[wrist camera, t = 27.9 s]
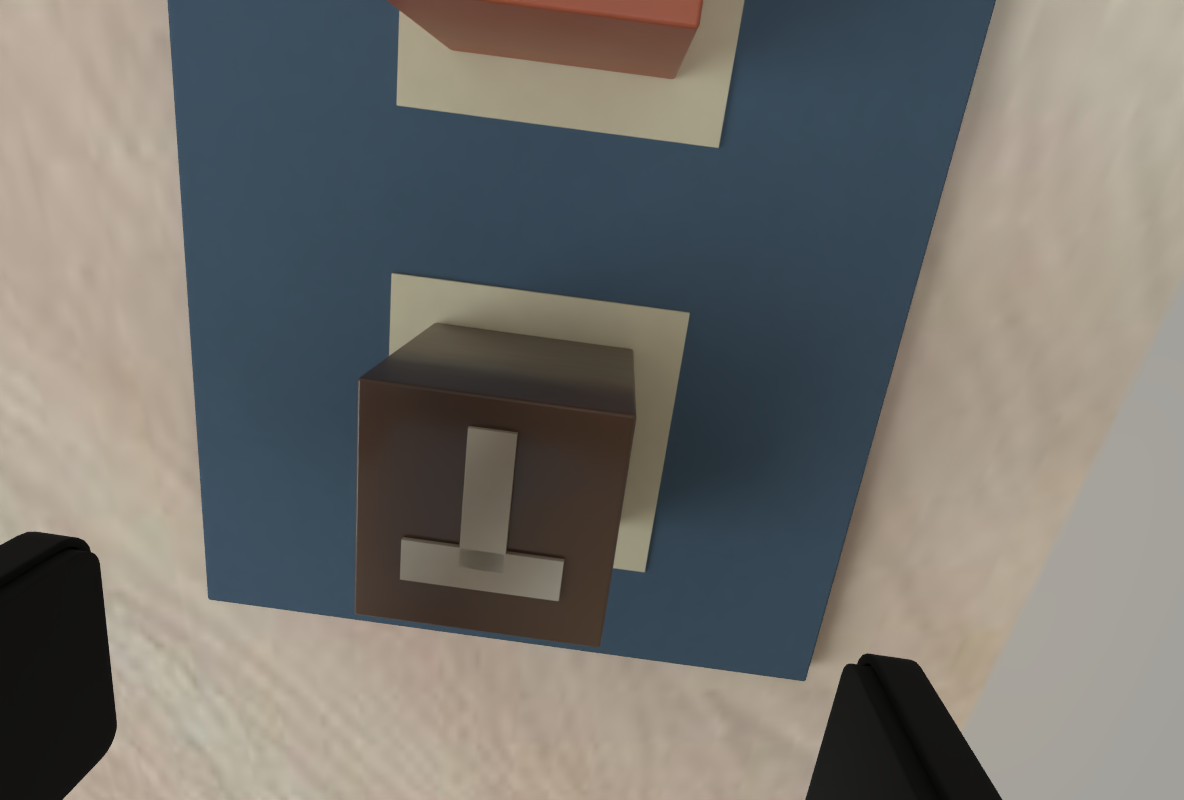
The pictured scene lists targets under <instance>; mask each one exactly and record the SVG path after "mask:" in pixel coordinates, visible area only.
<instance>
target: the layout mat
mask: <svg viewBox="0 0 1184 800" xmlns="http://www.w3.org/2000/svg"><path fill="white" fill-rule="evenodd" d="M995 1H996V0H703V6H702V13H701V19H700V25H699V27H698V29H697V31H696V34H695V36H694V38H693V40H692V42H691V44H690V47H689V49H688V51H687V53H686V55H685V57H684V60H683V62H682V64H681V66H680V68H679V70H678V72H677V75H676V77H675V79H666V78H659V77H651V76H643V75H636V74H628V73H621V72H613V71H605V70H598V69H590V68H583V67H575V66H567V65H560V64H552V63H545V62H537V61H529V60H522V59H514V58H507V57H499V56H491V55H484V54H476V53H469V52H461V51H453V50H450V49H449V48H448V47H446V46H445V45H444V44H442V43H441V42H440V41H438V40H437V39H436V38H435V37H433V36H432V35H431V34H429V33H428V32H427V31H426V30H424V29H423V28H422V27H420V26H419V25H418V24H416V23H415V22H414V21H413V20H411V19H410V18H409V17H407V16H406V15H405V14H404V13H402V12H401V11H400V10H398V9H397V8H396V7H394V6H393V5H392V4H391V3H389V2H388V1H387V0H168V12H169V27H170V42H171V56H172V71H173V86H174V101H175V115H176V130H177V145H178V159H179V174H180V189H181V204H182V218H183V233H184V248H185V263H186V277H187V292H188V307H189V322H190V336H191V351H192V366H193V381H194V395H195V410H196V425H197V439H198V454H199V469H200V484H201V498H202V513H203V528H204V543H205V557H206V572H207V587H208V598H209V599H210V600H217V601H225V602H232V603H239V604H247V605H254V606H261V607H268V608H276V609H283V610H290V611H297V612H305V613H312V614H319V615H327V616H334V617H341V618H348V619H356V620H363V621H370V622H377V623H385V624H392V625H399V626H407V627H414V628H421V629H428V630H436V631H443V632H450V633H457V634H465V635H472V636H479V637H487V638H494V639H501V640H508V641H516V642H523V643H530V644H538V645H545V646H552V647H559V648H567V649H574V650H581V651H588V652H596V653H603V654H610V655H618V656H625V657H632V658H639V659H647V660H654V661H661V662H668V663H676V664H683V665H690V666H698V667H705V668H712V669H719V670H727V671H734V672H741V673H748V674H756V675H763V676H770V677H778V678H785V679H792V680H799V681H805V680H806V677H807V673H808V670H809V666H810V662H811V659H812V655H813V652H814V648H815V645H816V641H817V637H818V634H819V630H820V627H821V623H822V620H823V616H824V612H825V609H826V605H827V602H828V598H829V595H830V591H831V587H832V584H833V580H834V577H835V573H836V570H837V566H838V562H839V559H840V555H841V552H842V548H843V545H844V541H845V537H846V534H847V530H848V527H849V523H850V520H851V516H852V512H853V509H854V505H855V502H856V498H857V495H858V491H859V487H860V484H861V480H862V477H863V473H864V470H865V466H866V462H867V459H868V455H869V452H870V448H871V444H872V441H873V437H874V434H875V430H876V427H877V423H878V419H879V416H880V412H881V409H882V405H883V402H884V398H885V394H886V391H887V387H888V384H889V380H890V377H891V373H892V369H893V366H894V362H895V359H896V355H897V352H898V348H899V344H900V341H901V337H902V334H903V330H904V327H905V323H906V319H907V316H908V312H909V309H910V305H911V302H912V298H913V294H914V291H915V287H916V284H917V280H918V277H919V273H920V269H921V266H922V262H923V259H924V255H925V252H926V248H927V244H928V241H929V237H930V234H931V230H932V227H933V223H934V219H935V216H936V212H937V209H938V205H939V202H940V198H941V194H942V191H943V187H944V184H945V180H946V177H947V173H948V169H949V166H950V162H951V159H952V155H953V152H954V148H955V144H956V141H957V137H958V134H959V130H960V127H961V123H962V119H963V116H964V112H965V109H966V105H967V102H968V98H969V94H970V91H971V87H972V84H973V80H974V77H975V73H976V69H977V66H978V62H979V59H980V55H981V52H982V48H983V44H984V41H985V37H986V34H987V30H988V27H989V23H990V19H991V16H992V12H993V9H994V5H995ZM434 323H442V324H449V325H457V326H464V327H472V328H479V329H486V330H494V331H501V332H509V333H516V334H523V335H531V336H538V337H546V338H553V339H561V340H568V341H575V342H583V343H590V344H598V345H605V346H613V347H620V348H627V349H632V350H633V354H634V375H635V396H636V417H637V418H636V425H635V431H634V437H633V444H632V450H631V456H630V463H629V469H628V476H627V482H626V488H625V495H624V501H623V507H622V514H621V520H620V526H619V533H618V539H617V546H616V552H615V558H614V565H613V571H612V577H611V584H610V590H609V597H608V603H607V609H606V616H605V622H604V628H603V635H602V641H601V645H600V647H598V648H597V647H590V646H582V645H575V644H568V643H561V642H553V641H546V640H539V639H532V638H524V637H517V636H510V635H503V634H495V633H488V632H481V631H473V630H466V629H459V628H452V627H444V626H437V625H430V624H423V623H415V622H408V621H401V620H394V619H386V618H379V617H372V616H365V615H357V614H355V612H354V600H355V532H356V464H357V396H358V379H359V377H361V376H362V375H364V374H365V373H366V372H368V371H369V370H370V369H372V368H373V367H375V366H376V365H377V364H379V363H380V362H381V361H383V360H384V359H386V358H387V357H388V356H390V355H391V354H393V353H394V352H395V351H397V350H398V349H399V348H401V347H402V346H404V345H405V344H406V343H408V342H409V341H410V340H412V339H413V338H415V337H416V336H417V335H419V334H420V333H422V332H423V331H424V330H426V329H427V328H428V327H430V326H431V325H433V324H434Z"/></svg>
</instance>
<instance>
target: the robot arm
mask: <svg viewBox="0 0 1184 800" xmlns="http://www.w3.org/2000/svg"><path fill="white" fill-rule="evenodd" d="M116 729H117V720H116V711H115V701H114V692H113V683H112V673H111V664H110V654H109V645H108V636H107V626H106V617H105V608H104V598H103V589H102V579H101V570H100V563H99V559H98V557H97V556H96V555H95V554H94V553H91V551H90V547H89V546H88V544H87V543H86V542H85V541H84V540H82V539H79V538H76V537H69V536H62V535H55V534H48V533H41V532H26V533H24V534H21V535H19V536H16V537H15V538H13V539H11V540H9V541H7V542H5V543H4V544H2V545H0V800H63V798H64V797H65V796H66V795H67V794H68V793H69V792H70V791H71V790H72V789H73V788H74V787H75V786H76V785H77V784H78V783H79V782H80V781H81V780H82V779H83V778H84V776H85V775H86V774H87V773H88V772H89V771H90V770H91V769H92V768H93V767H94V766H95V765H96V764H97V763H98V762H99V761H100V760H101V759H102V757H103V756H104V755H105V754H106V752H107V751H108V749H109V747H110V746H111V744H112V741H113V739H114V737H115V733H116ZM806 800H1002V799H1001V797H1000V795H999V794H998V792H997V790H996V789H995V787H994V785H993V784H992V782H991V781H990V779H989V777H988V776H987V774H986V772H985V771H984V769H983V768H982V766H981V764H980V763H979V761H978V759H977V758H976V756H975V755H974V753H973V751H972V750H971V748H970V747H969V745H968V743H967V742H966V740H965V738H964V737H963V735H962V733H961V732H960V730H959V729H958V727H957V725H956V724H955V722H954V720H953V719H952V717H951V716H950V714H949V712H948V711H947V709H946V707H945V706H944V704H943V703H942V701H941V699H940V698H939V696H938V694H937V693H936V691H935V690H934V688H933V686H932V685H931V683H930V681H929V680H928V678H927V677H926V675H925V673H924V672H923V670H922V668H921V667H920V666H919V665H918V664H917V662H915V661H912V660H909V659H902V658H895V657H888V656H881V655H874V654H868V653H867V654H864V655H862V657H861V658H860V659H859V661H858V663H857V664H847V665H846V666H845V667H844V669H843V672H842V674H841V678H840V681H839V685H838V688H837V692H836V695H835V699H834V702H833V706H832V709H831V713H830V716H829V720H828V723H827V727H826V730H825V733H824V737H823V740H822V744H821V747H820V751H819V754H818V758H817V761H816V765H815V768H814V772H813V775H812V779H811V782H810V786H809V789H808V793H807V796H806Z"/></svg>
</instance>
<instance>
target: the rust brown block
mask: <svg viewBox="0 0 1184 800" xmlns="http://www.w3.org/2000/svg"><path fill="white" fill-rule="evenodd" d="M387 1H388V2H389V3H391V4H392V5H393V6H394V7H396V8H397V9H398V10H400V11H401V12H402V13H404V14H405V15H406V16H407V17H409V18H410V19H411V20H413V21H414V22H415V23H416V24H418V25H419V26H420V27H422V28H423V29H424V30H426V31H427V32H428V33H429V34H431V35H432V36H433V37H435V38H436V39H437V40H438V41H440V42H441V43H442V44H444V45H445V46H446V47H448V48H449V49H450V50H453V51H461V52H469V53H476V54H484V55H491V56H499V57H507V58H514V59H522V60H529V61H537V62H545V63H552V64H560V65H567V66H575V67H583V68H590V69H598V70H605V71H613V72H621V73H628V74H636V75H643V76H651V77H659V78H666V79H675V77H676V75H677V72H678V70H679V68H680V66H681V64H682V62H683V60H684V57H685V55H686V53H687V51H688V49H689V47H690V44H691V42H692V40H693V38H694V36H695V34H696V31H697V29H698V27H699V25H700V19H701V13H702V6H703V0H387Z"/></svg>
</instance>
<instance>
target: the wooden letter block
mask: <svg viewBox="0 0 1184 800" xmlns="http://www.w3.org/2000/svg"><path fill="white" fill-rule="evenodd" d="M636 418H637V417H636V396H635V375H634V354H633V350H632V349H627V348H620V347H613V346H605V345H598V344H590V343H583V342H575V341H568V340H561V339H553V338H546V337H538V336H531V335H523V334H516V333H509V332H501V331H494V330H486V329H479V328H472V327H464V326H457V325H449V324H442V323H434V324H433V325H431V326H430V327H428V328H427V329H426V330H424V331H423V332H422V333H420V334H419V335H417V336H416V337H415V338H413V339H412V340H410V341H409V342H408V343H406V344H405V345H404V346H402V347H401V348H399V349H398V350H397V351H395V352H394V353H393V354H391V355H390V356H388V357H387V358H386V359H384V360H383V361H381V362H380V363H379V364H377V365H376V366H375V367H373V368H372V369H370V370H369V371H368V372H366V373H365V374H364V375H362V376H361V377H359V379H358V396H357V464H356V532H355V600H354V612H355V614H357V615H365V616H372V617H379V618H386V619H394V620H401V621H408V622H415V623H423V624H430V625H437V626H444V627H452V628H459V629H466V630H473V631H481V632H488V633H495V634H503V635H510V636H517V637H524V638H532V639H539V640H546V641H553V642H561V643H568V644H575V645H582V646H590V647H597V648H598V647H600V645H601V641H602V635H603V628H604V622H605V616H606V609H607V603H608V597H609V590H610V584H611V577H612V571H613V565H614V558H615V552H616V546H617V539H618V533H619V526H620V520H621V514H622V507H623V501H624V495H625V488H626V482H627V476H628V469H629V463H630V456H631V450H632V444H633V437H634V431H635V425H636Z"/></svg>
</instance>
